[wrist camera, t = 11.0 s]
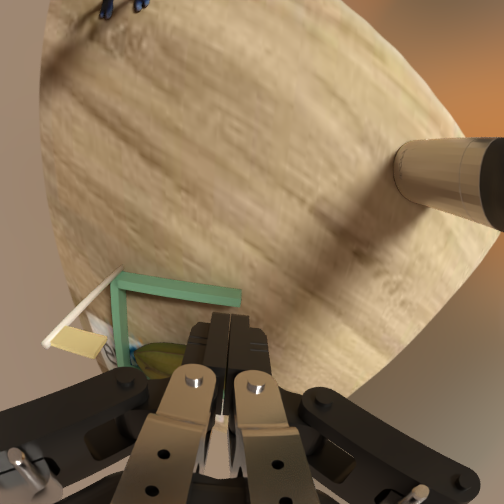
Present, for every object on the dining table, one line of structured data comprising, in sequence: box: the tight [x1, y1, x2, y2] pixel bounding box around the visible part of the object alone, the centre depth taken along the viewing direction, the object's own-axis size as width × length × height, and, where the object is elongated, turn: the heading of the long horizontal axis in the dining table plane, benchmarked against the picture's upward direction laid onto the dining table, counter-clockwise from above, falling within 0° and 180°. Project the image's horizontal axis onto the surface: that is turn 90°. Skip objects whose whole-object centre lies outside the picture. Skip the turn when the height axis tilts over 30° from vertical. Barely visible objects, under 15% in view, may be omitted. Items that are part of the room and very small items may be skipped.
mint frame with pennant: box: [41, 265, 241, 399], centre depth 32 cm, size 18×19×20 cm
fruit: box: [134, 343, 226, 390], centre depth 39 cm, size 11×12×7 cm
